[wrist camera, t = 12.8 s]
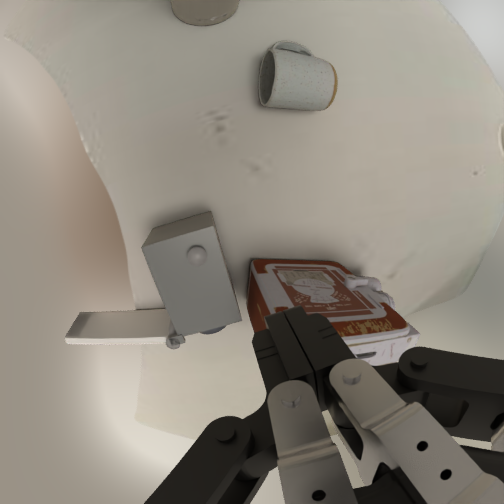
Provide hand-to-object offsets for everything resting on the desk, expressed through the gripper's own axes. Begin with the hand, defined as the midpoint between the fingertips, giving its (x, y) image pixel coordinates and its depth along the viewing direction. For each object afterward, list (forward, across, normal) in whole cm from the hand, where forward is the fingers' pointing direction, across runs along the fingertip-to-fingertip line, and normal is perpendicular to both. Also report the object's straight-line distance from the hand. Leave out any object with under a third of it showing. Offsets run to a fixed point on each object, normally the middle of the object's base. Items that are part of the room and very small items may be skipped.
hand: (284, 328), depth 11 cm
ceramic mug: (+27, -12, -15) cm, 33 cm away
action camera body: (+27, +7, +7) cm, 29 cm away
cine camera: (+27, -9, +14) cm, 32 cm away
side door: (+27, +18, +11) cm, 34 cm away
